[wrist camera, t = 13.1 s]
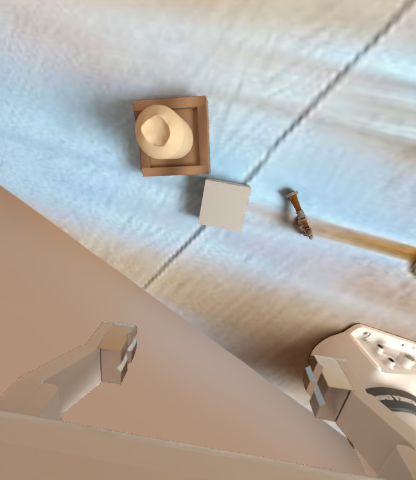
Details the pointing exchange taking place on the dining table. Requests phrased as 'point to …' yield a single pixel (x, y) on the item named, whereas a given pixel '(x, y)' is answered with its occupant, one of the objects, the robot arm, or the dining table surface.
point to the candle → (163, 133)
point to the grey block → (224, 204)
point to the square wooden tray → (199, 155)
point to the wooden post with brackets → (300, 215)
